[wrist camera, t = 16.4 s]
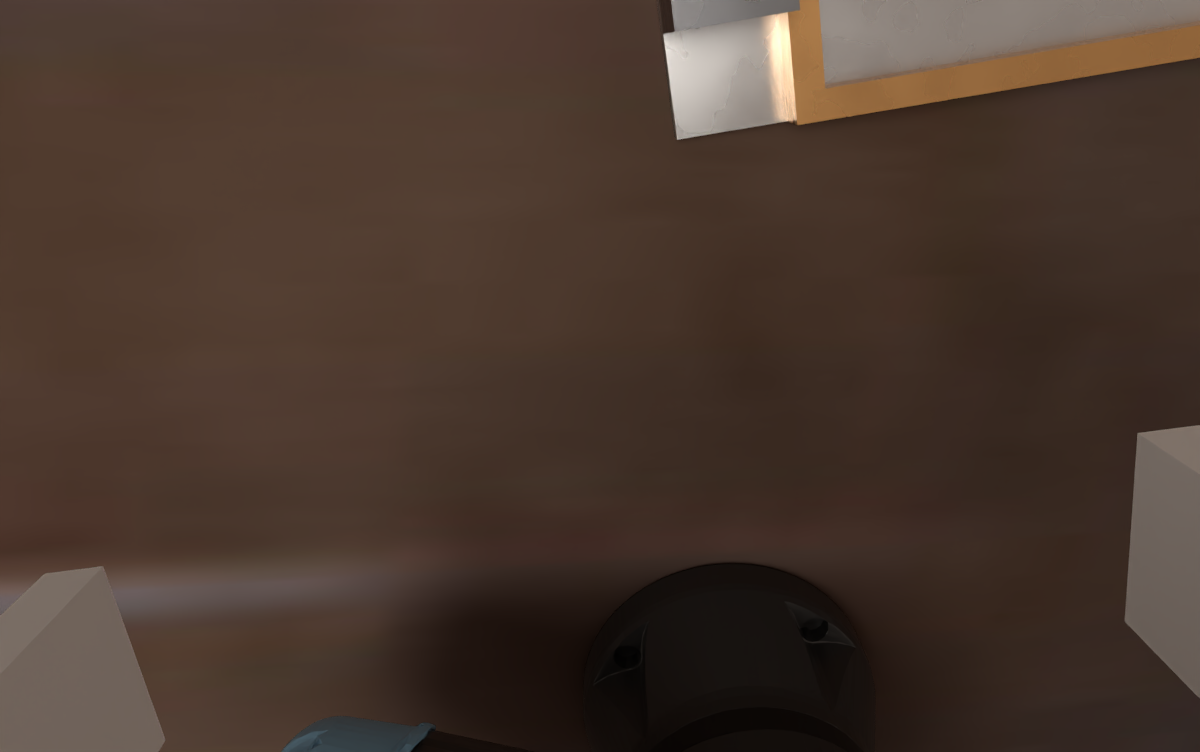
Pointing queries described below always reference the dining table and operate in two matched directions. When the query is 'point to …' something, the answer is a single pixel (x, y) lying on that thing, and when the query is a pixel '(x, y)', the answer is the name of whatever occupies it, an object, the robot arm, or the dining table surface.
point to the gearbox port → (895, 52)
